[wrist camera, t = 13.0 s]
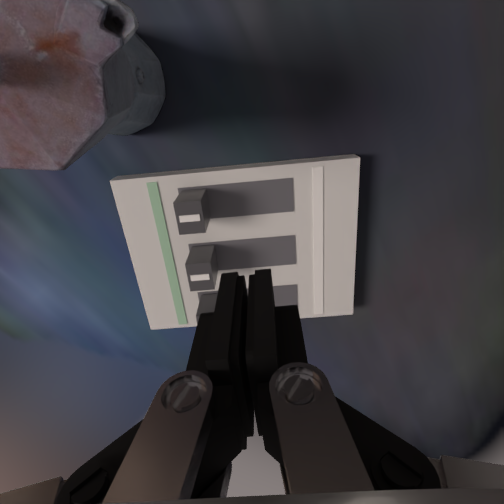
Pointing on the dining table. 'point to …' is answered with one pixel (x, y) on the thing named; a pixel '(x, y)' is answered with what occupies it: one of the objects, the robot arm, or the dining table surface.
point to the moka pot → (71, 79)
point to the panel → (247, 233)
